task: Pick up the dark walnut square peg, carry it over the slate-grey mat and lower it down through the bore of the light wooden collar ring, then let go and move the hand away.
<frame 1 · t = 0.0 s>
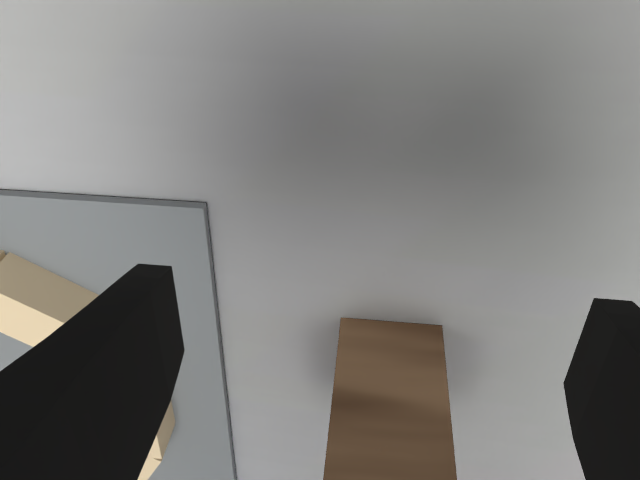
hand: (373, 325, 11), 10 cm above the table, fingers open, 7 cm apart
bead board: (15, 373, 28), on the table
wooden peg: (387, 357, 25), on the table
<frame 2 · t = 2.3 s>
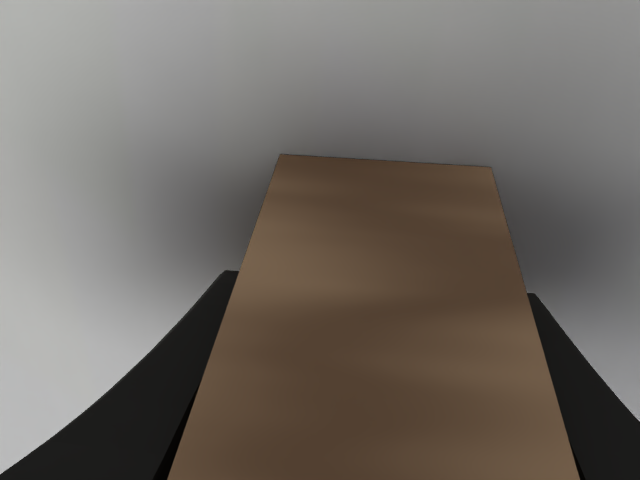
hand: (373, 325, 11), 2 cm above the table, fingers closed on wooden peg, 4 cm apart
wooden peg: (376, 246, 13), on the table, touching gripper
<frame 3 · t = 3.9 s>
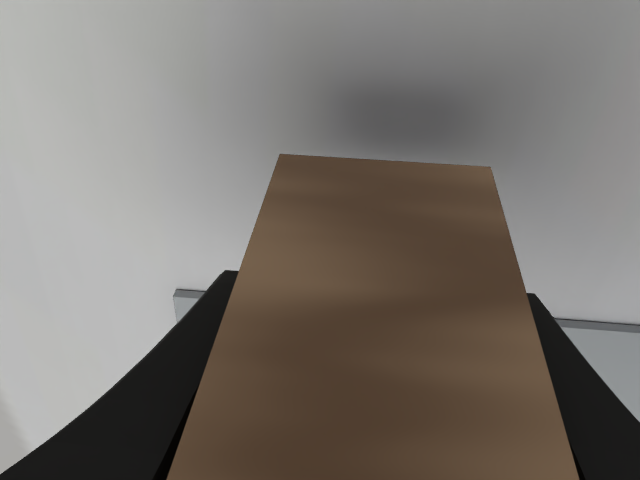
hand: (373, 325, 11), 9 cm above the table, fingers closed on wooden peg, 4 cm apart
bead board: (418, 478, 27), on the table
wooden peg: (376, 246, 13), point 6 cm above the table, touching gripper
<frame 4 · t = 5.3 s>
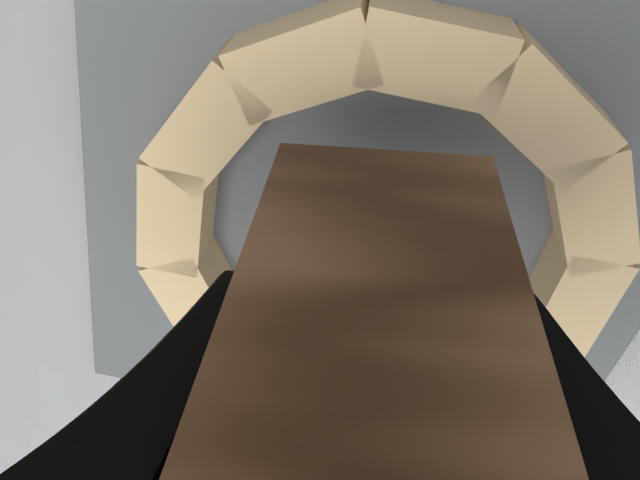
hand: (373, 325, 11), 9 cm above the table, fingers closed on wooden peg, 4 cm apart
bead board: (377, 225, 21), on the table
wooden peg: (377, 236, 13), point 7 cm above the table, touching gripper
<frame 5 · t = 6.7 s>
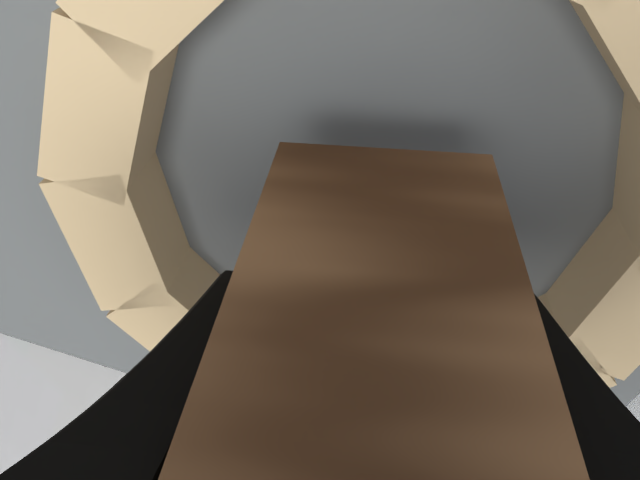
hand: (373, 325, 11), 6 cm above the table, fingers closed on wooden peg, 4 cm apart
bead board: (381, 171, 15), on the table
wooden peg: (377, 235, 13), point 3 cm above the table, touching gripper
when the fingers open (3 cm above the table, at t = 8.1 s): wooden peg stays where it is, resting on bead board.
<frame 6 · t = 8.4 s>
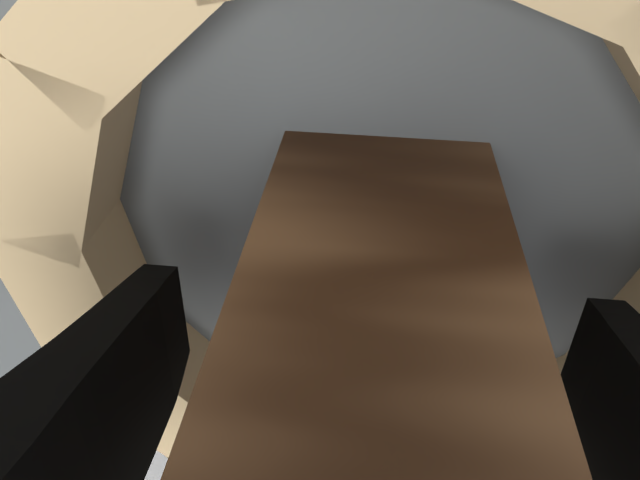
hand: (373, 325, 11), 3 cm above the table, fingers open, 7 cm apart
bead board: (377, 221, 13), on the table
wooden peg: (378, 222, 13), resting on bead board
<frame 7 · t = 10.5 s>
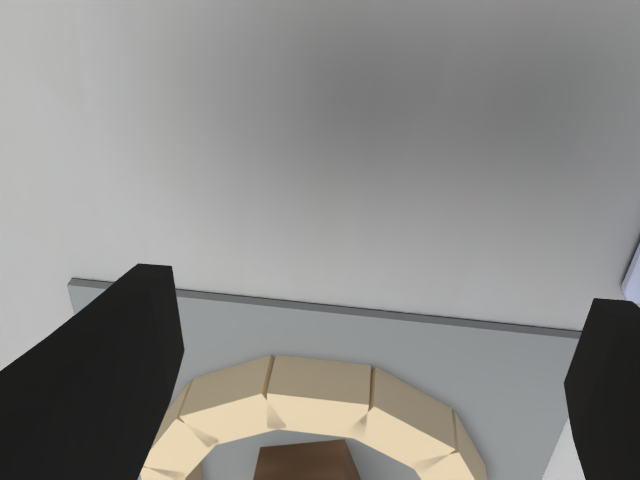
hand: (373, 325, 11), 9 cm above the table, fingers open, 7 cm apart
bead board: (316, 466, 28), on the table
wooden peg: (314, 470, 28), resting on bead board
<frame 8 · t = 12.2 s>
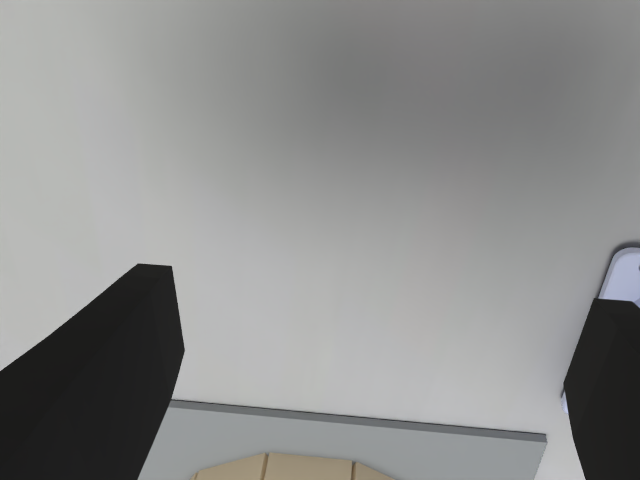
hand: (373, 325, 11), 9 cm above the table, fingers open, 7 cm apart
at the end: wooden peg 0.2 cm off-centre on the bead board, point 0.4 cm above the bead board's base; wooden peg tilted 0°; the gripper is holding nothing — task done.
